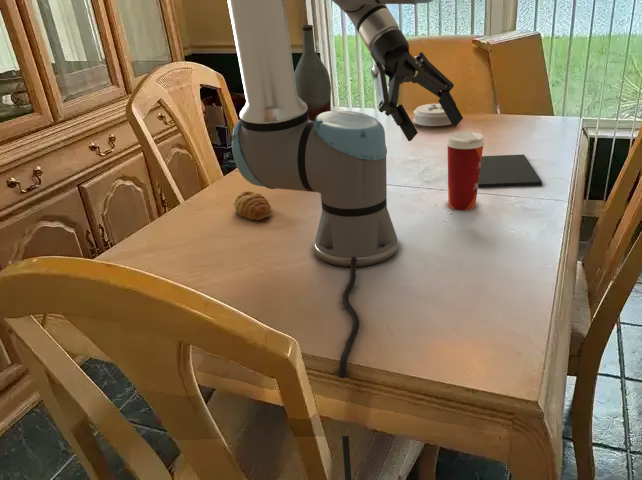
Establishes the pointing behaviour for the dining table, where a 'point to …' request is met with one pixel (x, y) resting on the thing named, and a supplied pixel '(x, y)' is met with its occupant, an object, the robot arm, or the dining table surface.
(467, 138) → the paper cup
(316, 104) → the bottle
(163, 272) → the dining table surface
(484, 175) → the dark mat
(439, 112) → the lid
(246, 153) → the robot arm
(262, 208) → the pastry
